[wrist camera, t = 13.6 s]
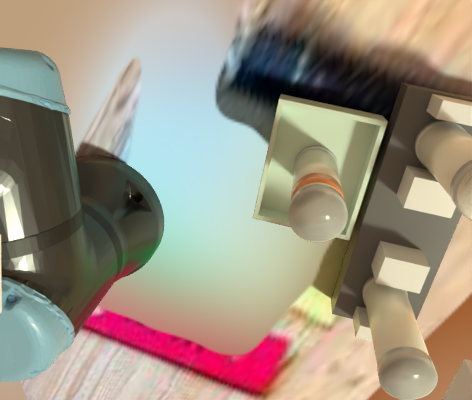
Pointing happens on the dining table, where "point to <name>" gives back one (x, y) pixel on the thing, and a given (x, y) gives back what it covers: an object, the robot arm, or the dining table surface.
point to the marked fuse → (317, 196)
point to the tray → (322, 134)
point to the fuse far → (398, 343)
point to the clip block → (401, 210)
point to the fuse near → (448, 160)
